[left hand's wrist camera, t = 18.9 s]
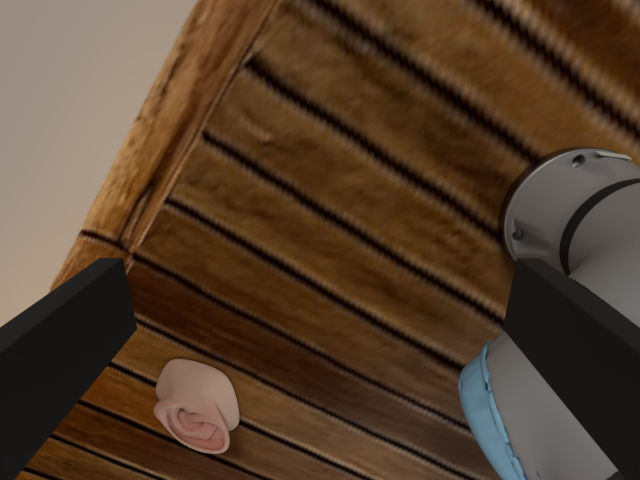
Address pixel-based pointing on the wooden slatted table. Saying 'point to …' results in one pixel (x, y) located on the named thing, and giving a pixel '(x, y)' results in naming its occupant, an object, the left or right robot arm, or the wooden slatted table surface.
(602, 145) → the wooden slatted table surface
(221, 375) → the anatomical model
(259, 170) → the wooden slatted table surface
